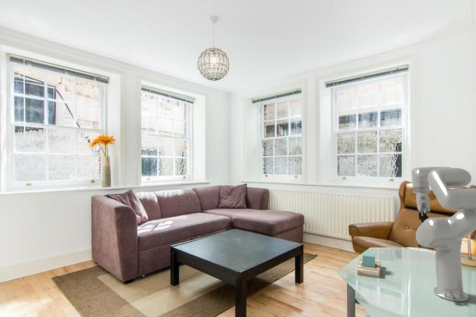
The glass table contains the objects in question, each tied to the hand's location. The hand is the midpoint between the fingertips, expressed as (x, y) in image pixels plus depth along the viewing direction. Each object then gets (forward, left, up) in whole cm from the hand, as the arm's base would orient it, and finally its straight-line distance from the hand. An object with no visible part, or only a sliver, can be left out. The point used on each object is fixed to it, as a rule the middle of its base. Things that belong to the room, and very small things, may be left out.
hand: (423, 221), depth 143 cm
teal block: (-4, +28, -27) cm, 39 cm away
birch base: (-4, +28, -30) cm, 41 cm away
